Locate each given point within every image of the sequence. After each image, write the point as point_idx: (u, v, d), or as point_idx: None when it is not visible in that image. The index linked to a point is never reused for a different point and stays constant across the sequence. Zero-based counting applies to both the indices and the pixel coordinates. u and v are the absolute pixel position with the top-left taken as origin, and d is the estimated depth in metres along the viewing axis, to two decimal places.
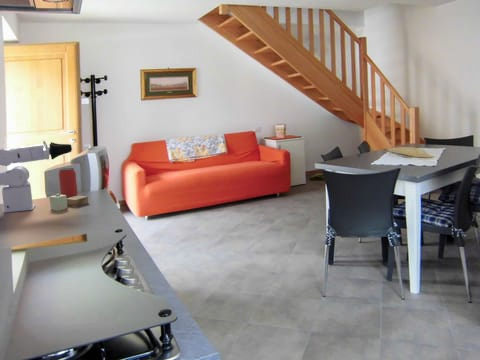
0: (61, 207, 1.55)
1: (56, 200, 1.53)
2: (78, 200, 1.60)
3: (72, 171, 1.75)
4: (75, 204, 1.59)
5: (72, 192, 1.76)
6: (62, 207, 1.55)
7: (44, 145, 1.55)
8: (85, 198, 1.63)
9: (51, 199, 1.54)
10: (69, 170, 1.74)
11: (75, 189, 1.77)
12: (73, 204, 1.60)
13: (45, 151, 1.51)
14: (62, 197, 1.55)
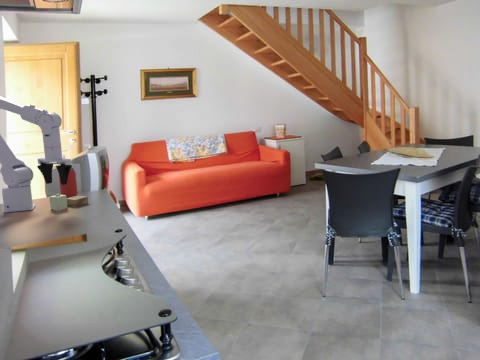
0: (61, 207, 1.55)
1: (56, 200, 1.53)
2: (78, 200, 1.60)
3: (72, 171, 1.75)
4: (75, 204, 1.59)
5: (72, 192, 1.76)
6: (62, 207, 1.55)
7: None
8: (85, 198, 1.63)
9: (51, 199, 1.54)
10: None
11: (75, 189, 1.77)
12: (73, 204, 1.60)
13: (70, 161, 1.51)
14: (62, 197, 1.55)
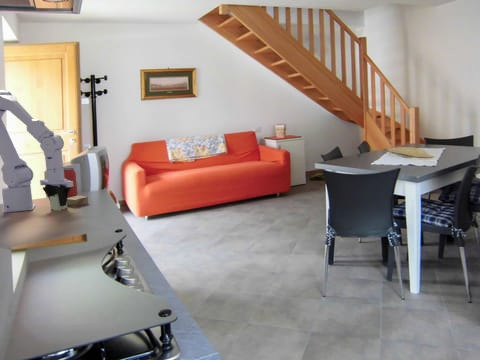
0: (61, 207, 1.55)
1: (56, 200, 1.53)
2: (77, 200, 1.60)
3: (72, 171, 1.75)
4: (74, 204, 1.59)
5: (72, 192, 1.76)
6: (62, 207, 1.55)
7: None
8: (85, 198, 1.63)
9: (51, 199, 1.54)
10: (69, 170, 1.74)
11: (75, 189, 1.77)
12: (73, 204, 1.60)
13: (72, 183, 1.52)
14: None
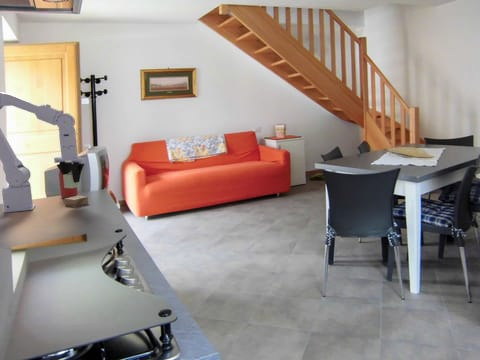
0: (74, 185, 1.59)
1: (69, 178, 1.58)
2: (77, 200, 1.60)
3: None
4: (74, 204, 1.59)
5: (72, 192, 1.76)
6: (75, 185, 1.60)
7: None
8: (85, 198, 1.63)
9: (64, 177, 1.59)
10: None
11: (75, 189, 1.77)
12: (72, 204, 1.60)
13: (85, 159, 1.57)
14: None
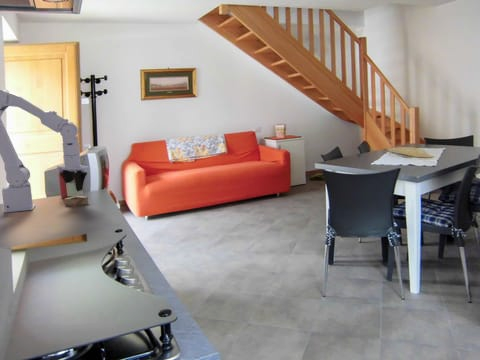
0: (77, 193, 1.61)
1: (72, 186, 1.59)
2: (77, 200, 1.60)
3: None
4: (74, 204, 1.59)
5: None
6: (78, 193, 1.61)
7: None
8: (85, 198, 1.63)
9: (67, 185, 1.60)
10: None
11: None
12: (72, 204, 1.60)
13: (88, 168, 1.58)
14: None
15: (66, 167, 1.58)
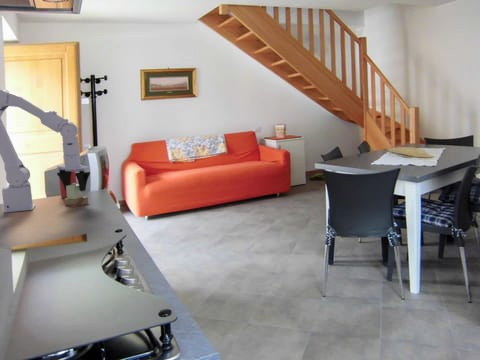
0: (77, 196, 1.61)
1: (72, 189, 1.59)
2: (77, 200, 1.60)
3: (72, 171, 1.75)
4: (74, 204, 1.59)
5: None
6: (78, 196, 1.61)
7: None
8: (85, 198, 1.63)
9: (67, 188, 1.60)
10: None
11: None
12: (72, 204, 1.60)
13: (88, 168, 1.58)
14: (78, 186, 1.61)
15: (66, 167, 1.58)
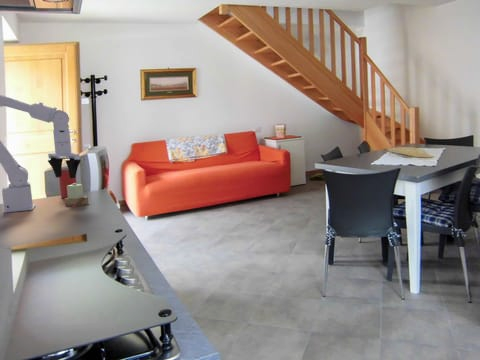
0: (78, 196, 1.61)
1: (73, 189, 1.60)
2: (77, 200, 1.60)
3: None
4: (74, 204, 1.59)
5: None
6: (79, 196, 1.61)
7: None
8: (85, 198, 1.63)
9: (68, 188, 1.61)
10: None
11: None
12: (72, 204, 1.60)
13: (79, 155, 1.59)
14: (79, 186, 1.61)
15: (56, 154, 1.59)
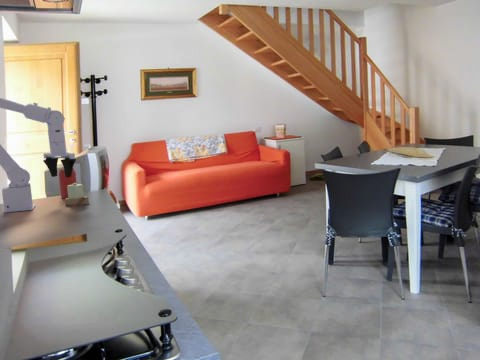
0: (78, 196, 1.61)
1: (73, 189, 1.60)
2: (78, 200, 1.60)
3: (72, 171, 1.75)
4: (74, 204, 1.59)
5: None
6: (79, 196, 1.61)
7: None
8: (85, 198, 1.63)
9: (68, 188, 1.61)
10: None
11: None
12: (73, 204, 1.60)
13: (74, 155, 1.61)
14: (79, 186, 1.61)
15: (52, 154, 1.61)
